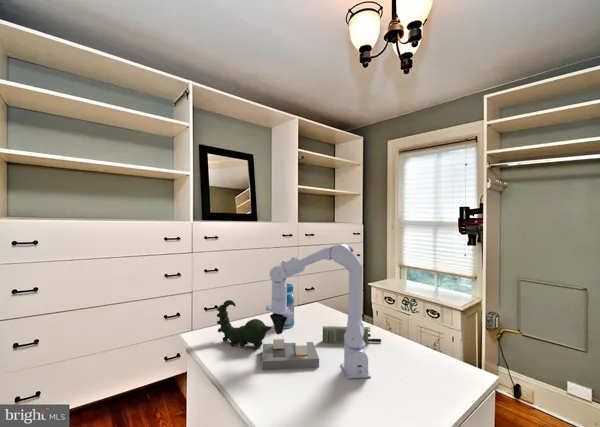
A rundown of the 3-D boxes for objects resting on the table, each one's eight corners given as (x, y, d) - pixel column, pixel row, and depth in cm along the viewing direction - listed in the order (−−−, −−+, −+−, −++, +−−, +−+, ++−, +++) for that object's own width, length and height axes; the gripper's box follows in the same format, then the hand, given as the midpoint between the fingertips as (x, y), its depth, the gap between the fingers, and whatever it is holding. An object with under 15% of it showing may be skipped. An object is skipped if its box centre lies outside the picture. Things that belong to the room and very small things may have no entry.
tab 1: (283, 348, 108) (284, 339, 108) (273, 348, 107) (273, 339, 107) (283, 344, 110) (283, 335, 111) (273, 345, 110) (273, 336, 110)
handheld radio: (322, 340, 124) (380, 341, 123) (322, 344, 120) (381, 345, 120) (322, 325, 123) (380, 326, 123) (322, 328, 120) (382, 329, 119)
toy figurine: (213, 349, 118) (267, 354, 109) (211, 302, 119) (264, 304, 110) (227, 340, 126) (277, 344, 118) (224, 297, 127) (274, 298, 119)
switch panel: (319, 367, 100) (319, 358, 100) (262, 370, 98) (262, 361, 98) (312, 349, 114) (312, 341, 114) (262, 351, 112) (262, 343, 112)
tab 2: (307, 355, 102) (307, 345, 102) (296, 355, 102) (296, 345, 102) (305, 351, 105) (306, 341, 105) (295, 351, 105) (295, 342, 105)
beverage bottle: (284, 330, 134) (285, 287, 135) (274, 325, 140) (274, 284, 141) (297, 325, 140) (298, 285, 140) (287, 321, 146) (287, 282, 146)
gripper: (300, 299, 105) (299, 336, 105) (275, 291, 115) (275, 325, 115) (285, 302, 100) (285, 341, 100) (261, 295, 111) (261, 330, 110)
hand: (279, 333), depth 107 cm, fingers closed
